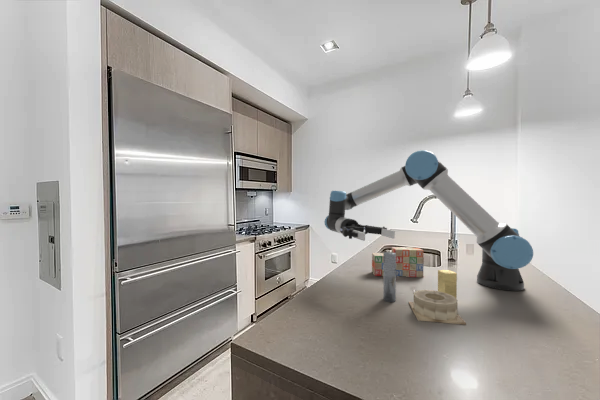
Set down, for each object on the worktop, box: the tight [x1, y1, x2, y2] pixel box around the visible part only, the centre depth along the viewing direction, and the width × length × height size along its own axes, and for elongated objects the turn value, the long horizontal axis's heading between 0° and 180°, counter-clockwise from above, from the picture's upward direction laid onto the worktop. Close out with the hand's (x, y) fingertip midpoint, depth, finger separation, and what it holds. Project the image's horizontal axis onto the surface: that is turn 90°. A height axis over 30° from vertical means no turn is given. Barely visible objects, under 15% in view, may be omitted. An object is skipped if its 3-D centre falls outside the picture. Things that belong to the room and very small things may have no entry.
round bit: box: [382, 251, 397, 303], centre depth 89 cm, size 4×4×16 cm
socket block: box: [408, 289, 467, 326], centre depth 78 cm, size 12×12×5 cm
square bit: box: [437, 269, 458, 300], centre depth 88 cm, size 4×4×10 cm
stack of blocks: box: [371, 246, 425, 278], centre depth 118 cm, size 21×6×12 cm, turn 86°
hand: (379, 235), depth 95 cm, fingers open, 13 cm apart
